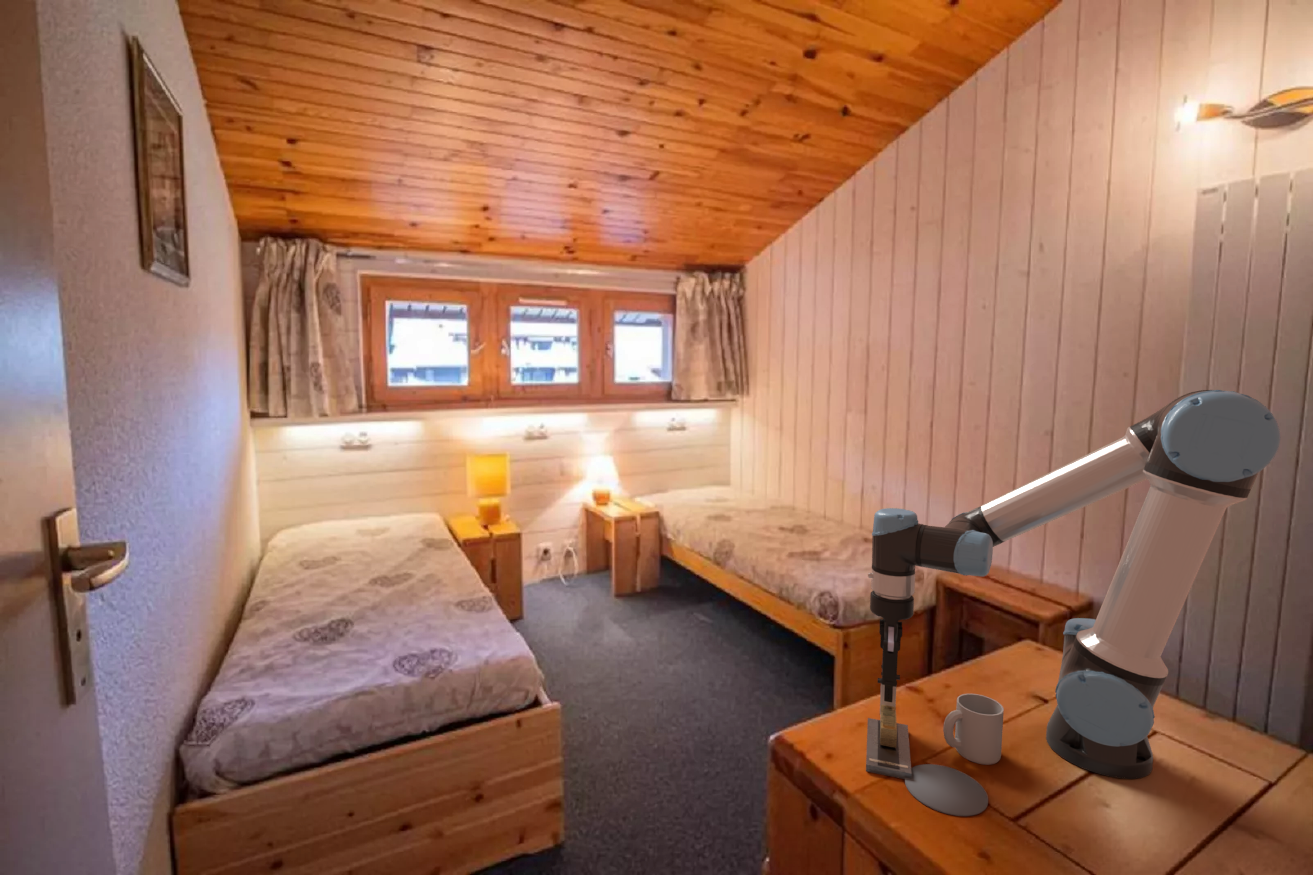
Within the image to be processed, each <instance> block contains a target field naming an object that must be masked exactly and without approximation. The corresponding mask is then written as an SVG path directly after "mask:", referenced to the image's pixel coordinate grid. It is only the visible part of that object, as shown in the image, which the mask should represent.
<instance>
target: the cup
mask: <svg viewBox="0 0 1313 875" xmlns="http://www.w3.org/2000/svg"><path fill="white" fill-rule="evenodd" d="M1004 711H1005V709H1004V706H1003V705H1002V704H1001V702H998V700H996V699H993V698H991V697H988V696H986V695H983V694H977V693H962V694H960V695H959V696H957V698H956V709H955V710H952V711H950V712H949V713H948V714H947V715H946V717H945V719H944V722H943V730H942V732H943V737H944V739H945V742H946V744H947V745H948V746H950V747H952V748H955V750H956V751H957V753H958V754H959V755H960V756H961V757H962V758H964V759H965V760H967V761H969V762H972V763H976V764H978V765H979V764H980V765H986V766H987V765H988V766H989V765H995V764H997V763H998V762H999V761H1000V760H1001V756H1002V748H1003V746H1002V745H1003V744H1002V742H1003V731H1004V730H1003V726H1004ZM954 730H955V732H954ZM954 733H955V734H954Z"/></svg>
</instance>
